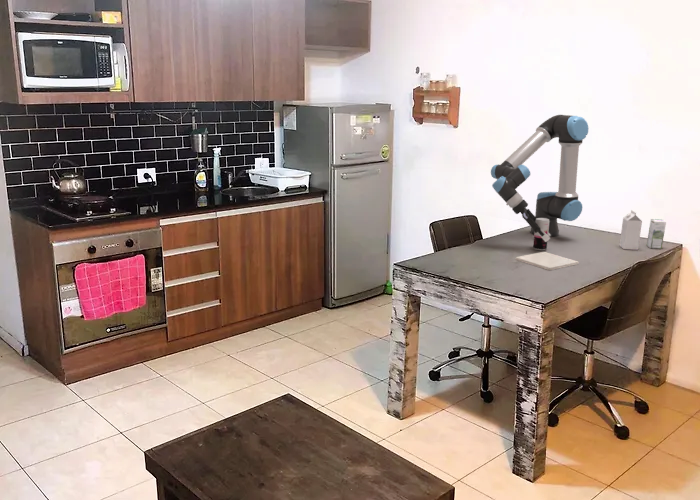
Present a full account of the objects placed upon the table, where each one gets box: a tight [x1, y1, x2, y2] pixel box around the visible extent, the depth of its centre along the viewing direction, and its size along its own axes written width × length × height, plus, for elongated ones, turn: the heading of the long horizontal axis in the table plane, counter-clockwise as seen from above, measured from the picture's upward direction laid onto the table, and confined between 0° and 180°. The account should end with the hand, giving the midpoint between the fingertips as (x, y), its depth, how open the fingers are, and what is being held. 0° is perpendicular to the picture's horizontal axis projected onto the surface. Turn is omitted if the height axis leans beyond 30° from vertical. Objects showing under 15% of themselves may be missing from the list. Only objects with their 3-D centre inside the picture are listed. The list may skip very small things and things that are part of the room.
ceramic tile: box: [515, 251, 579, 271], centre depth 301 cm, size 20×20×1 cm
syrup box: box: [646, 218, 667, 250], centre depth 329 cm, size 6×6×14 cm
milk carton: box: [619, 209, 643, 251], centre depth 326 cm, size 7×7×19 cm
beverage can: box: [532, 218, 549, 251], centre depth 319 cm, size 7×7×15 cm
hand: (548, 238), depth 318 cm, fingers closed on beverage can, 6 cm apart
